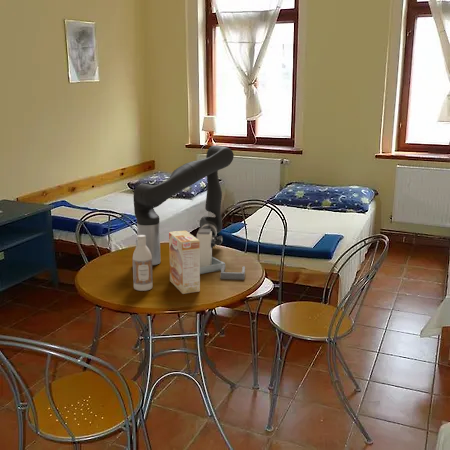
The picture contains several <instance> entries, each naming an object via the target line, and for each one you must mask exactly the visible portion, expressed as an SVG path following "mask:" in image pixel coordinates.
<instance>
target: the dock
mask: <svg viewBox="0 0 450 450" xmlns="http://www.w3.org/2000/svg"><path fill="white" fill-rule="evenodd" d="M241 269H242V270H241V272H233V271H231V272H229V271H225V270H226V265H225V266H222V268H221V270H220V280H241V281H242V280H245V276H246V266H244V265H243V266H242V268H241Z"/></svg>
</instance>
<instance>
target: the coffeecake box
mask: <svg viewBox="0 0 450 450" xmlns="http://www.w3.org/2000/svg"><path fill="white" fill-rule="evenodd" d="M195 237H196V236H194V235H193V234H191V233H190V232H188V231H187V230H177V231H175V230H174V231H169V232H168V242H169V244H168V245H169V246H168V247H169V250H168V251H169V252H168V253H169V282H171V284H172V285H174V287H175V288H176V289H177V290H178V291H179V292H180V293H181V294H182V295H184V294H185V295H186V294H190V293H198V292H200V291H201V276H200V275H201V274H200V241H199V240H198V239H197V238H195Z"/></svg>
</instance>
